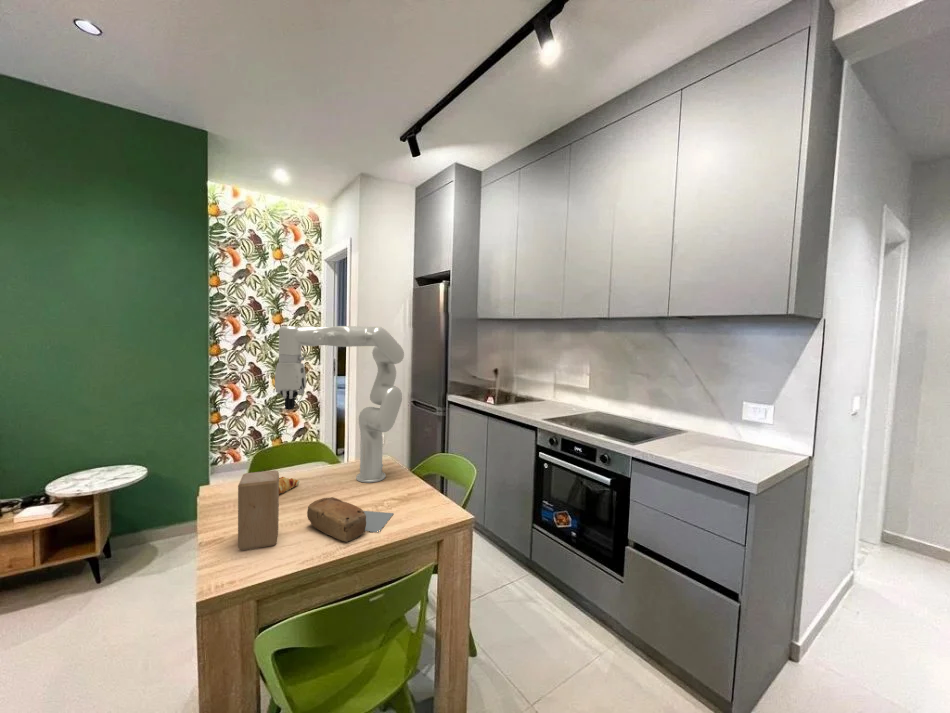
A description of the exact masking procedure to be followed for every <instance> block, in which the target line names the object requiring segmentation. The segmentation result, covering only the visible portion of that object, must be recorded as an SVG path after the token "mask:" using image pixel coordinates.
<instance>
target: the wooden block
mask: <svg viewBox="0 0 950 713" xmlns="http://www.w3.org/2000/svg"><path fill="white" fill-rule="evenodd" d="M279 478H280V474H279V470H274V469H273V470H265V471H255V472H245V473H243V474H242V476H241V479H240V481H239V483H238V485H237V491H238V492H237V548H238V551H241V552H242V551H247V550H253V549H259V548H260V549H261V548H264V547H265V548H266V547H271V546H274V545H276V544H277V542H278V535H279V509H280V508H279V504H280V503H279V502H280V500H279Z"/></svg>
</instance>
